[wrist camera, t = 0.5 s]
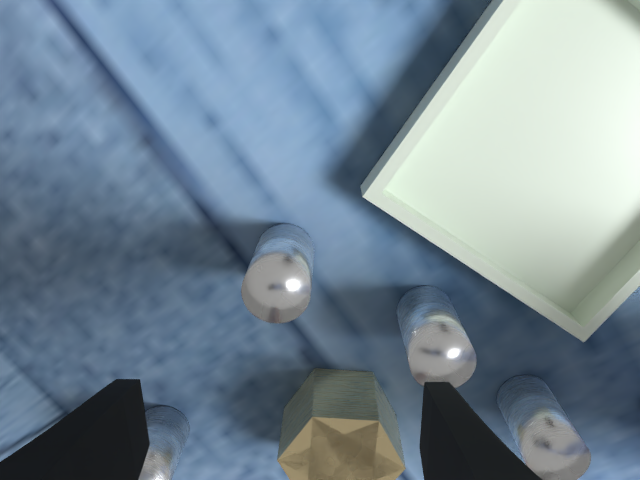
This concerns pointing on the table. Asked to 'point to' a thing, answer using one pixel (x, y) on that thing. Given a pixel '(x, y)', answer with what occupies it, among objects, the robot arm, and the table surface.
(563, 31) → the parts tray
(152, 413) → the spacer field
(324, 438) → the wooden polyhedron
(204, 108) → the table surface
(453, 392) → the robot arm
